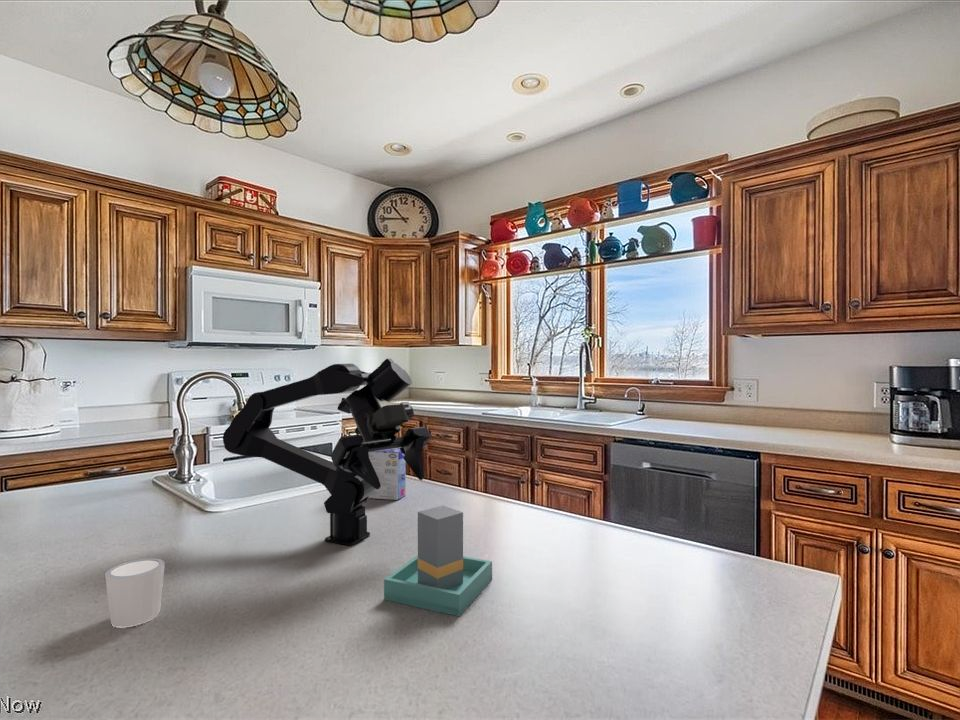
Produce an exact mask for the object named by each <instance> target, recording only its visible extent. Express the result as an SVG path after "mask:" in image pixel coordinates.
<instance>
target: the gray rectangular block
mask: <svg viewBox="0 0 960 720" xmlns="http://www.w3.org/2000/svg"><path fill="white" fill-rule="evenodd" d="M417 555H418V583H420V584H422V585H426V586H431V587H436V588H441V589H446V590H447V589H450V588H452V587H455V586H457V585H460V584H462V583H463V556H464V512H463V511H460V510H457V509H455V508H452V507H449V506H445V505H443V504H442V505H439V506H436V507H432V508H428V509H424V510H421V511H420V510H419V511H417Z"/></svg>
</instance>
